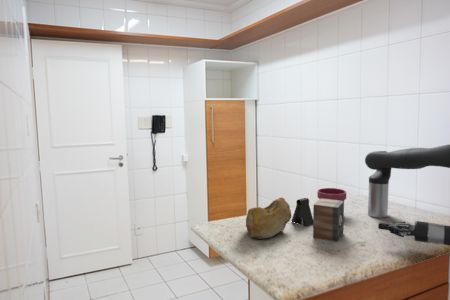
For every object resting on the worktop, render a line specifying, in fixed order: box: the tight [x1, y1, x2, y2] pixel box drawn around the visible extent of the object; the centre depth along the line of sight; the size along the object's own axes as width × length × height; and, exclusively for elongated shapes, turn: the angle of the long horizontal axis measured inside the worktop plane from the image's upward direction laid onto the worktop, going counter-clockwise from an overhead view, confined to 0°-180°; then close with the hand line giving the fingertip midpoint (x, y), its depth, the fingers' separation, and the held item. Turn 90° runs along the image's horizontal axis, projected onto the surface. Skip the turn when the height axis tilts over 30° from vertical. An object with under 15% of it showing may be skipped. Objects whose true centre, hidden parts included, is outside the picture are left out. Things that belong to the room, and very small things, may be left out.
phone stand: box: [291, 197, 313, 227], centre depth 160 cm, size 9×6×12 cm, turn 39°
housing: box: [312, 198, 345, 243], centre depth 143 cm, size 12×10×14 cm
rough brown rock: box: [245, 197, 292, 240], centre depth 149 cm, size 23×17×15 cm
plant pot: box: [316, 187, 347, 202], centre depth 173 cm, size 14×14×13 cm
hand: (378, 225), depth 133 cm, fingers closed
